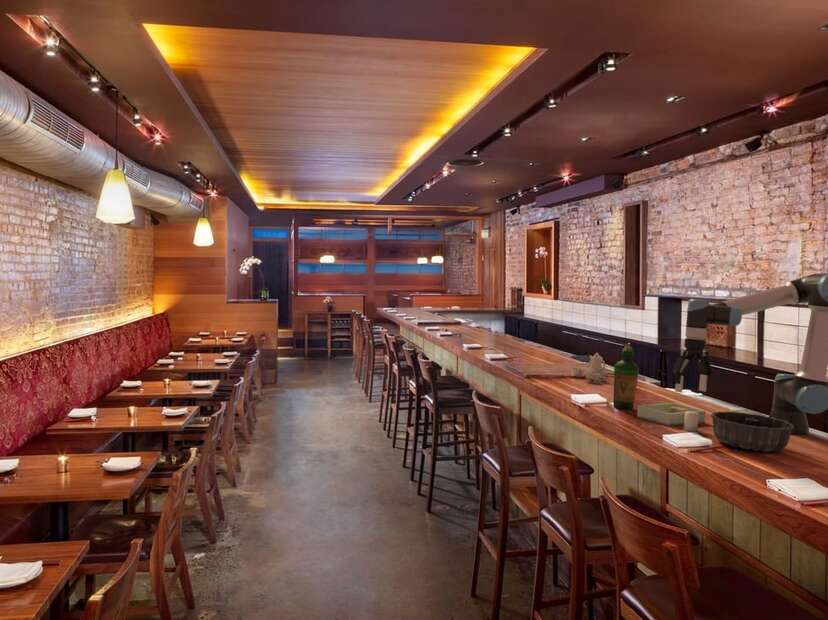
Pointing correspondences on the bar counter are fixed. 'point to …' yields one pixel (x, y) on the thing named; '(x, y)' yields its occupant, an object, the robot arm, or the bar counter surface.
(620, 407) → the bottle
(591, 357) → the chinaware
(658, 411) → the tote
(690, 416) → the cylinder
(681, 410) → the cube
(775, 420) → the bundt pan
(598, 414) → the bar counter surface
